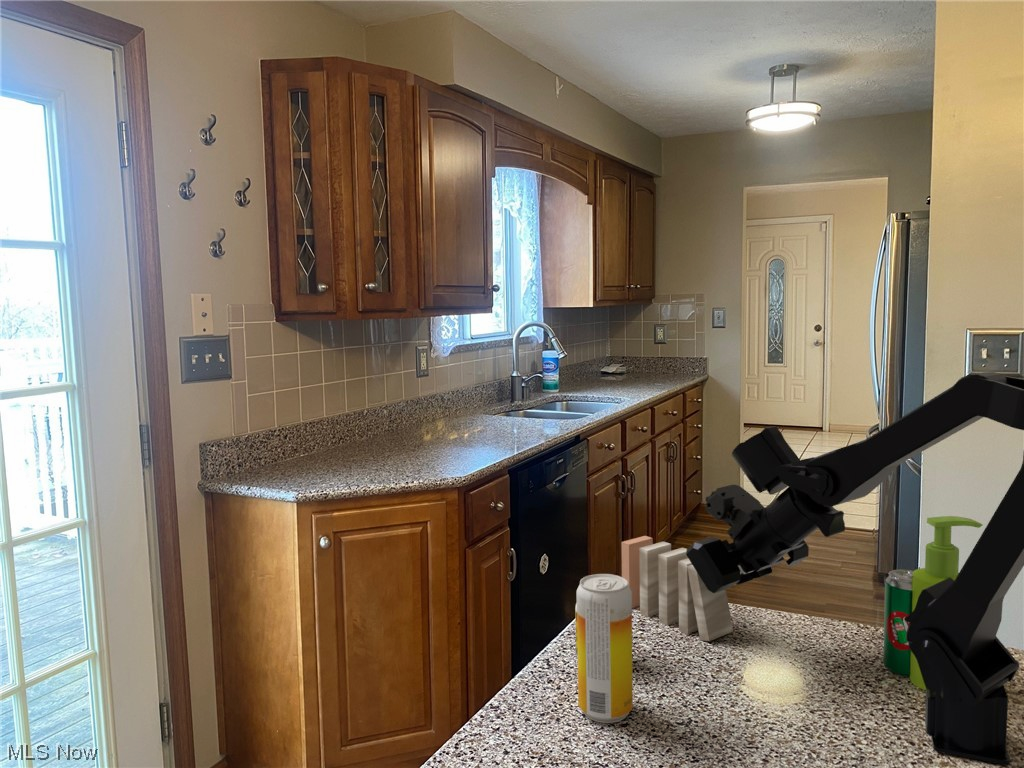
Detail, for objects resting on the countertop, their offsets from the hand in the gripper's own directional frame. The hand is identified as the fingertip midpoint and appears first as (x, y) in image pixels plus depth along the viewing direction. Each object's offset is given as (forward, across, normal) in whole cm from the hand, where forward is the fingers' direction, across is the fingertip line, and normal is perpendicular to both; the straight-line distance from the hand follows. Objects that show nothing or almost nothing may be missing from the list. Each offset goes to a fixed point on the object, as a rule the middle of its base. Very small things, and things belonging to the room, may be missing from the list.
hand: (713, 583), depth 102 cm
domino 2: (+13, 0, -2) cm, 13 cm away
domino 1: (+16, 0, -5) cm, 16 cm away
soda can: (-10, -10, +20) cm, 25 cm away
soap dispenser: (-13, -11, +23) cm, 28 cm away
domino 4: (+7, 0, +3) cm, 8 cm away
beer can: (+1, +25, +9) cm, 27 cm away
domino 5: (+5, 0, +6) cm, 7 cm away
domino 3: (+10, 0, 0) cm, 10 cm away
